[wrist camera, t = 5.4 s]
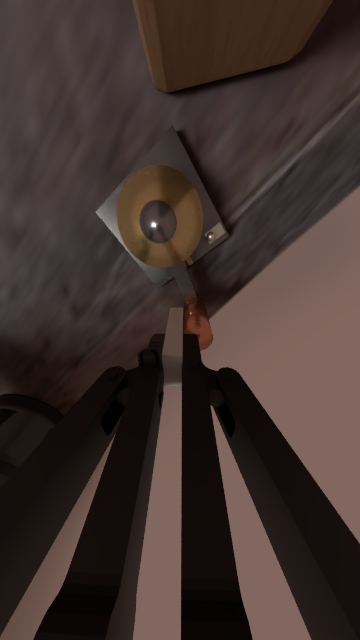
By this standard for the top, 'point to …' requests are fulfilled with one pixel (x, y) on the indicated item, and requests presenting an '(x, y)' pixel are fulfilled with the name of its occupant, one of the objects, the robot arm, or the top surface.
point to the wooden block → (221, 37)
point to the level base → (176, 157)
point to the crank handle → (166, 233)
